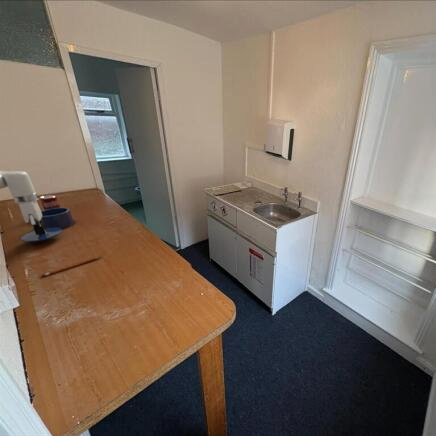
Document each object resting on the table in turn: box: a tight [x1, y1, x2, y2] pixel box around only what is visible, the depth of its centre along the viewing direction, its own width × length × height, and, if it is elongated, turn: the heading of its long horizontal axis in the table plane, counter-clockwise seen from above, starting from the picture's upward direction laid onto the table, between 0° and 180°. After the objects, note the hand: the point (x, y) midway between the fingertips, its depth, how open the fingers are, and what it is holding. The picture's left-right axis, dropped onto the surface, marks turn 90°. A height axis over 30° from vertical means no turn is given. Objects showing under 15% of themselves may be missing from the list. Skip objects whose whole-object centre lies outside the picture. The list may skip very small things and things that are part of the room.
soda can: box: [39, 194, 61, 211], centre depth 145 cm, size 7×7×12 cm
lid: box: [20, 223, 63, 243], centre depth 116 cm, size 15×15×7 cm
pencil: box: [42, 256, 100, 277], centre depth 100 cm, size 1×19×1 cm, turn 139°
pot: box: [41, 207, 75, 230], centre depth 132 cm, size 14×14×8 cm
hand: (41, 232), depth 117 cm, fingers closed on lid, 3 cm apart
